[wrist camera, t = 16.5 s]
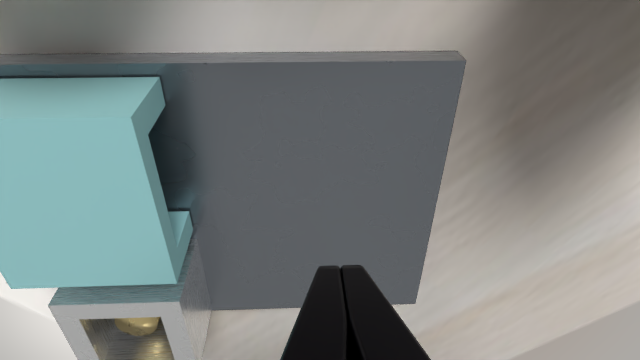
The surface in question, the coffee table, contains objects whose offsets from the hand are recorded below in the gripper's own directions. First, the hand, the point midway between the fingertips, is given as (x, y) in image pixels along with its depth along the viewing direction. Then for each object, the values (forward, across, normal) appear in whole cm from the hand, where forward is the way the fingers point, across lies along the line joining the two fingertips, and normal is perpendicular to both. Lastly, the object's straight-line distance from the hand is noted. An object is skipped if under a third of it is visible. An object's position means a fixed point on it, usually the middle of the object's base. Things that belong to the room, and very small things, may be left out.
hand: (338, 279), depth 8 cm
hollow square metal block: (+11, +9, +12) cm, 18 cm away
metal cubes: (+12, +4, +7) cm, 14 cm away
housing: (+11, +10, +4) cm, 15 cm away
